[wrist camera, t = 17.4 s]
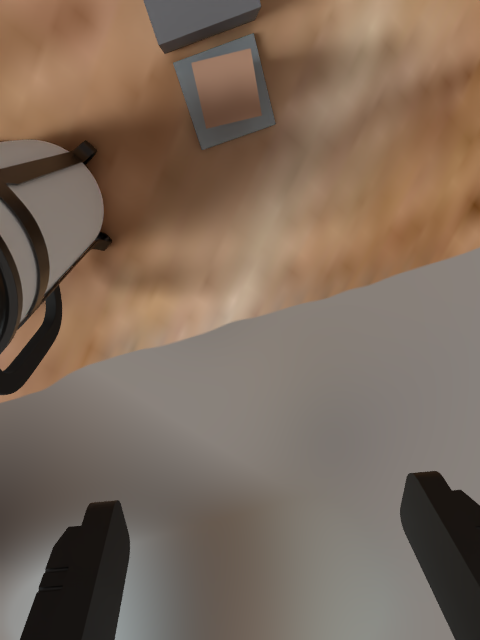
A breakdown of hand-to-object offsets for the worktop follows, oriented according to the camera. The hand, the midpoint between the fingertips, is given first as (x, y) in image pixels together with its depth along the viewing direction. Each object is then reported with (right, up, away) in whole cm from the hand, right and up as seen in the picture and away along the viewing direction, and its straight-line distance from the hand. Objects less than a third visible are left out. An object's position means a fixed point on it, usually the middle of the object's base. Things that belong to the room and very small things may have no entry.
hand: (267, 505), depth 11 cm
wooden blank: (-2, +27, +28) cm, 39 cm away
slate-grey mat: (-2, +28, +29) cm, 40 cm away
